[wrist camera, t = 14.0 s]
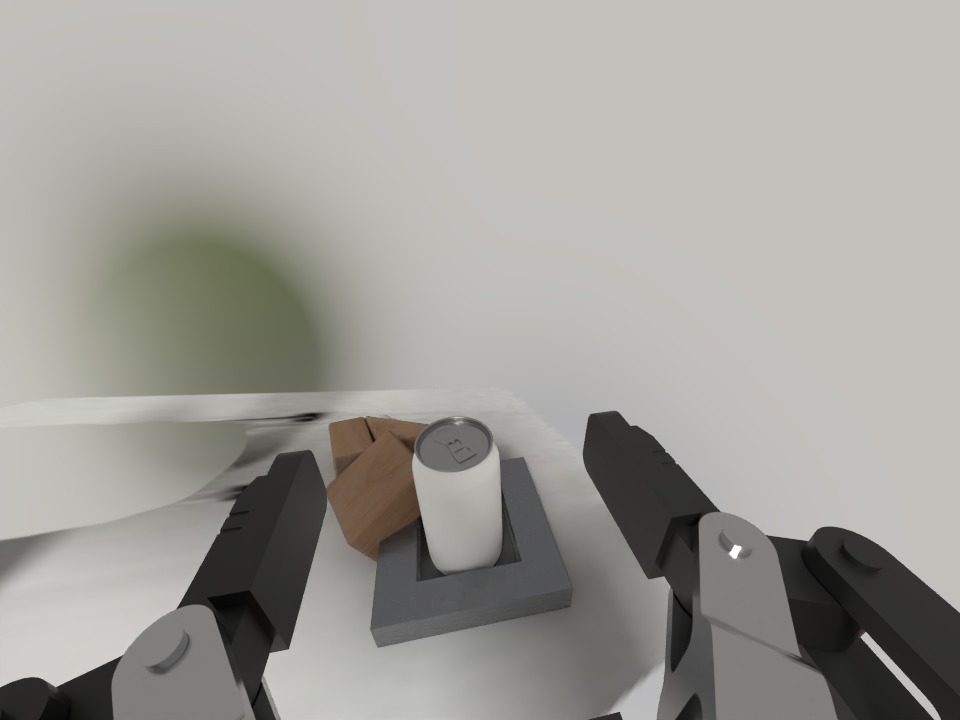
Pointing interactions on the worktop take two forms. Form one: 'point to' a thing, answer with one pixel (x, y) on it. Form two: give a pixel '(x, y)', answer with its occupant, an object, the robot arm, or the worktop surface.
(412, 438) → the wooden blocks
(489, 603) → the gray square frame plate
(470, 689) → the worktop surface
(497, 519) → the can
